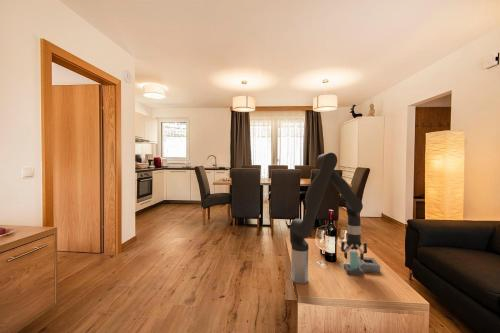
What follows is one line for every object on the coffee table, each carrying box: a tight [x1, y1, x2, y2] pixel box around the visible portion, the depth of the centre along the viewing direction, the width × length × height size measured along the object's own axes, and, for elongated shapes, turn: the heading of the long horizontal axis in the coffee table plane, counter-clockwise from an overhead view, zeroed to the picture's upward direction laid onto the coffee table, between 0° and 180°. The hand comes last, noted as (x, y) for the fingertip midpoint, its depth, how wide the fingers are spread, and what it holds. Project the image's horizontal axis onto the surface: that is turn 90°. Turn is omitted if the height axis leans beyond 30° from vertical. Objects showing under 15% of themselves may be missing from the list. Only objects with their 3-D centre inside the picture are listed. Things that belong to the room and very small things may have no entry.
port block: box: [358, 256, 381, 274], centre depth 149 cm, size 12×10×5 cm
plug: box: [349, 250, 359, 270], centre depth 144 cm, size 4×4×12 cm
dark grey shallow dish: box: [343, 263, 365, 277], centre depth 144 cm, size 9×9×2 cm
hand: (353, 259), depth 144 cm, fingers open, 8 cm apart
